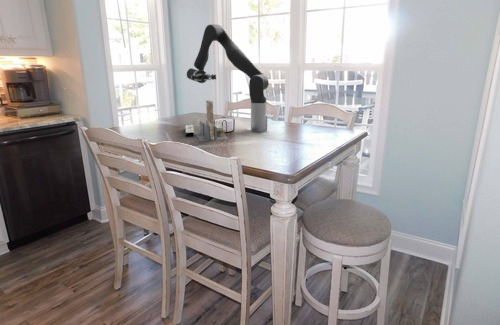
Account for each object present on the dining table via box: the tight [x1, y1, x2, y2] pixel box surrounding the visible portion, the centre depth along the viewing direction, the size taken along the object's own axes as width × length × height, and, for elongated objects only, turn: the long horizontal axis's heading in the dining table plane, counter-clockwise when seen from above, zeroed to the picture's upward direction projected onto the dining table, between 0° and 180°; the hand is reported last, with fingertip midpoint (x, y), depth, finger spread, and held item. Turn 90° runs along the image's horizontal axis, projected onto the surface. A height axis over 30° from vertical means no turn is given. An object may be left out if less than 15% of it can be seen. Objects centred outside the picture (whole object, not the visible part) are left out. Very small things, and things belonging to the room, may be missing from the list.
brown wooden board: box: [205, 99, 215, 141], centre depth 171 cm, size 2×6×20 cm, turn 21°
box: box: [185, 124, 195, 134], centre depth 185 cm, size 4×4×28 cm
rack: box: [193, 119, 230, 142], centre depth 180 cm, size 15×21×8 cm
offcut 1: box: [214, 123, 224, 131], centre depth 184 cm, size 5×10×2 cm, turn 18°
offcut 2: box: [217, 129, 226, 134], centre depth 184 cm, size 5×10×2 cm, turn 25°
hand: (206, 77), depth 186 cm, fingers open, 8 cm apart
